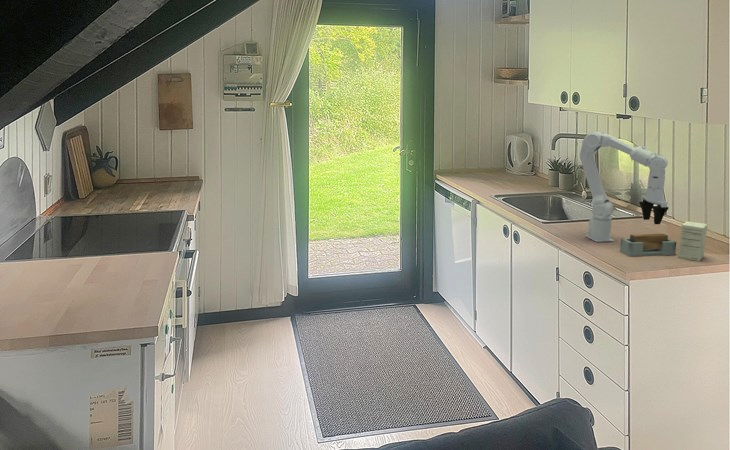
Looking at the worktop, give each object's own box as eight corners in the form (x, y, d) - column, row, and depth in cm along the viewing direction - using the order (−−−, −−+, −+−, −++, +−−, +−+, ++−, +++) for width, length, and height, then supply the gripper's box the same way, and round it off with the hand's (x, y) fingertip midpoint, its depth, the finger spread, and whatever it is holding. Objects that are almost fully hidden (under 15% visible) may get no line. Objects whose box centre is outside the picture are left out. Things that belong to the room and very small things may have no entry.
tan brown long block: (629, 247, 232) (630, 234, 231) (661, 246, 233) (663, 233, 232) (633, 249, 229) (634, 236, 228) (666, 248, 230) (667, 235, 229)
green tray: (619, 251, 234) (621, 238, 233) (664, 249, 236) (665, 237, 235) (629, 256, 227) (630, 243, 226) (674, 254, 229) (676, 242, 228)
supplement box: (682, 253, 231) (686, 220, 228) (704, 256, 227) (708, 223, 224) (677, 257, 226) (681, 224, 223) (699, 261, 221) (704, 227, 218)
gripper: (676, 190, 229) (672, 225, 232) (654, 184, 243) (651, 217, 246) (658, 190, 228) (654, 226, 231) (637, 184, 242) (634, 217, 245)
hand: (651, 221), depth 239 cm, fingers open, 7 cm apart
